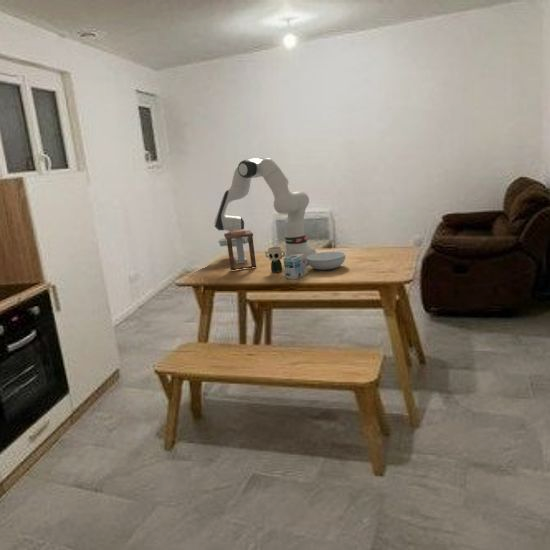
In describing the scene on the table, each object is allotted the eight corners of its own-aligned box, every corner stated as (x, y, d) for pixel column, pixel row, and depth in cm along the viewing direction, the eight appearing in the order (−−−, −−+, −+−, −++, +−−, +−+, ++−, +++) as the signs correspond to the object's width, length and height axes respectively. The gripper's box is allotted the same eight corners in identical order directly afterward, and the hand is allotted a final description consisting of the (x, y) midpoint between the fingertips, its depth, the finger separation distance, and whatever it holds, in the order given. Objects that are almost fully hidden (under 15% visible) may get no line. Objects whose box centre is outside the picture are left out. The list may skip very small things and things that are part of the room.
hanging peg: (234, 261, 287) (230, 230, 282) (247, 259, 288) (243, 228, 284) (235, 263, 279) (231, 232, 275) (249, 261, 280) (245, 230, 276)
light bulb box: (295, 279, 245) (293, 258, 242) (284, 278, 249) (282, 258, 246) (307, 274, 253) (305, 253, 250) (296, 273, 257) (294, 253, 254)
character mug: (265, 273, 264) (262, 249, 261) (269, 270, 271) (266, 247, 267) (284, 272, 261) (282, 248, 258) (288, 269, 267) (285, 246, 264)
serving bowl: (348, 262, 268) (347, 250, 266) (343, 272, 248) (342, 259, 247) (311, 264, 274) (310, 252, 272) (303, 273, 254) (302, 261, 253)
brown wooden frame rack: (228, 267, 289) (224, 233, 284) (253, 263, 291) (249, 230, 286) (230, 272, 276) (226, 237, 271) (257, 268, 278) (252, 233, 273)
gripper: (217, 236, 303) (219, 240, 290) (250, 232, 306) (253, 235, 293) (218, 246, 305) (220, 250, 291) (251, 242, 308) (254, 245, 295)
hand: (237, 242), depth 292 cm, fingers open, 8 cm apart
